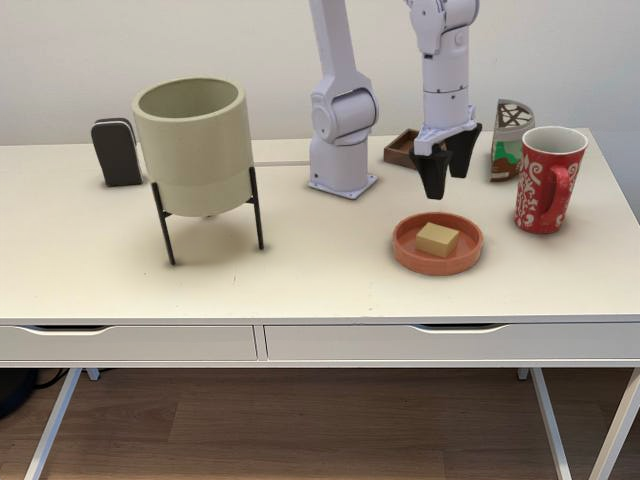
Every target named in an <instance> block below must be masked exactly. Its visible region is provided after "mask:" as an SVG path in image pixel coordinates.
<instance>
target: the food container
mask: <svg viewBox="0 0 640 480" xmlns="http://www.w3.org/2000/svg"><path fill="white" fill-rule="evenodd" d="M535 116H536V115H535V113H534V110H533V108H531V107H530V106H528V105H527V104H525V103H523V102H521V101H517V100H512V99H506V98H498V100H497V106H496V112H495V120H494V126H493V134H492V135H493V136H492V140H491V148H490V157H489V179H490V180H489V182H490V183H500V182H501V183H502V182H506V181H509V180H512V179H514V178H516V177H517V176H519V172H520V162H521V154H522V145H523V144H522V136H523V134H524V133H525V132H527V131H529V130H531V129H534V128H536V117H535Z"/></svg>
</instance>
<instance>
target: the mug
mask: <svg viewBox="0 0 640 480" xmlns="http://www.w3.org/2000/svg"><path fill="white" fill-rule="evenodd" d="M589 141H590V140H589V139H588V137H587V136H586V135H584V134H583V133H582V132H580V131H579V130H576V129H572V128H570V127H565V126H557V125H545V126H539V127H535V128H534V129H531V130H529V131H527V132H525V133H524V134H523V136H522V144H523V145H522V154H521V162H520V172H519V174H518V182H517V191H516V198H515V206H514V207H515V208H514V214H513V220H514V223H515V225H516V226H517V227H518V228H520V229H521V230H523V231H525V232H529V233H532V234H540V235H541V234H551V233H554V232H556V231H559V230H560V229H561V228H562V226H563V224H564V222H565V221H564V220H565V218H566V214H567V211H568V207H569V204H570V201H571V197H572V195H573V192H574V188H575V184H576V181H577V178H578V176H579V172H580V168H581V166H582V162H583V158H584V156H585V153H586V150H587V148H588V146H589Z"/></svg>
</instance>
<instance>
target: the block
mask: <svg viewBox="0 0 640 480" xmlns="http://www.w3.org/2000/svg"><path fill="white" fill-rule="evenodd" d="M458 235H459V231H456V230H453V229H450V228H446V227H443V226H439V225H436V224H433V223H429V222H428V223H427V224H426V225H425V227H424V228H423V229H422V230H421V231H420V232H419V233H418V234H417V235H416V246H415V249H417V250H420V251H423V252H426V253H430V254H433V255H436V256H439V257H442V258H447V256H448V255H449V254H450V253H451V252H452V251H453V250H454V248H455V247H456V246H457V243H458Z"/></svg>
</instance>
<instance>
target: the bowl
mask: <svg viewBox="0 0 640 480" xmlns="http://www.w3.org/2000/svg"><path fill="white" fill-rule="evenodd" d="M428 222H429V223H433V224H436V225H439V226H443V227H446V228H450V229H453V230H456V231H459V235H458V243H457V246H456V247H455V248H454V250H453V251H452V252H451V253H450V254H449V255H448V256H447V258H442V257H439V256H436V255H433V254H430V253H426V252H423V251H420V250H417V249H415V246H416V235H417V234H418V233H419V232H420V231H421V230H422V229H423V228H424V227H425V225H426V224H427V223H428ZM483 242H484V236H483V232H482V230H481V229H480V228H479V225H477V224H476V223H474V222H473V221H472V220H470V219H468V218H466V217H464V216H462V215H459V214H455V213H451V212H443V211H426V212H420V213H416V214H413V215H409V216H407V217H406V218H404V219H402V220H400V222H398V223H397V224H396V225H395V226H394V229H393V231H392V243H391V245H392V249H391V251H392V254H393V257H394V258H395V259H396V261H397V262H398V263H399V264H400V265H401V266H403V267H404V268H406V269H408V270H409V271H413V272H415V273H419V274H423V275H429V276H450V275H455V274H458V273H459V274H460V273H462V272H465V271H467V270H469V269H471V268H472V267H473V266H475V264H476V263H477V262H478V261H479V260H480V257H481V254H482V253H481V252H482V247H483Z"/></svg>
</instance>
